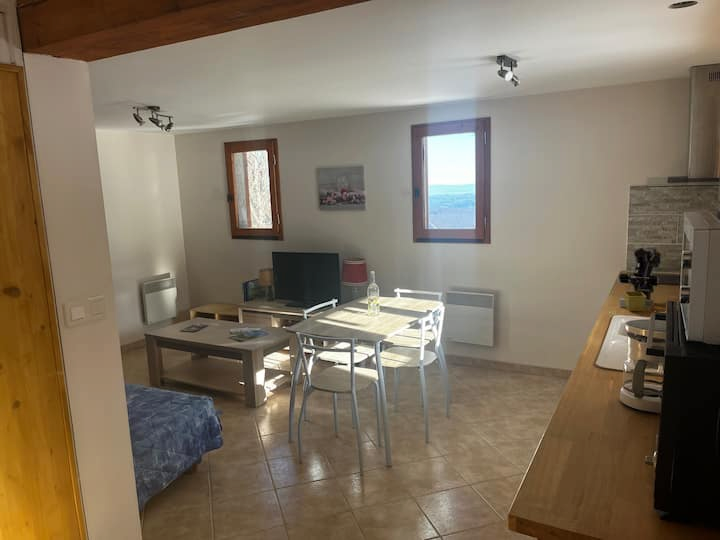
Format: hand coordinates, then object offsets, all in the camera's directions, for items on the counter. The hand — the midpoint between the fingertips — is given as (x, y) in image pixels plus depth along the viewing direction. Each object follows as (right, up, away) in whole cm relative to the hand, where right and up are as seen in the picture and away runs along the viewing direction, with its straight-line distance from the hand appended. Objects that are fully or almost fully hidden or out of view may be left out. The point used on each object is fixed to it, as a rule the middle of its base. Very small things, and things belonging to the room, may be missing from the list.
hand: (635, 291), depth 286 cm
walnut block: (+8, -9, +3) cm, 12 cm away
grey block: (-2, -9, +7) cm, 11 cm away
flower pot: (-2, -10, -2) cm, 10 cm away
